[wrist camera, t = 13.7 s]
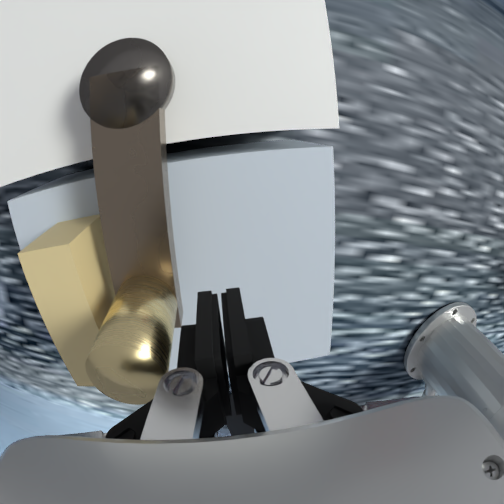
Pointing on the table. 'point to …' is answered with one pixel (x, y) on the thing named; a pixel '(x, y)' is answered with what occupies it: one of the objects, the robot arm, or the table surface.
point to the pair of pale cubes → (180, 161)
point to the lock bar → (133, 216)
